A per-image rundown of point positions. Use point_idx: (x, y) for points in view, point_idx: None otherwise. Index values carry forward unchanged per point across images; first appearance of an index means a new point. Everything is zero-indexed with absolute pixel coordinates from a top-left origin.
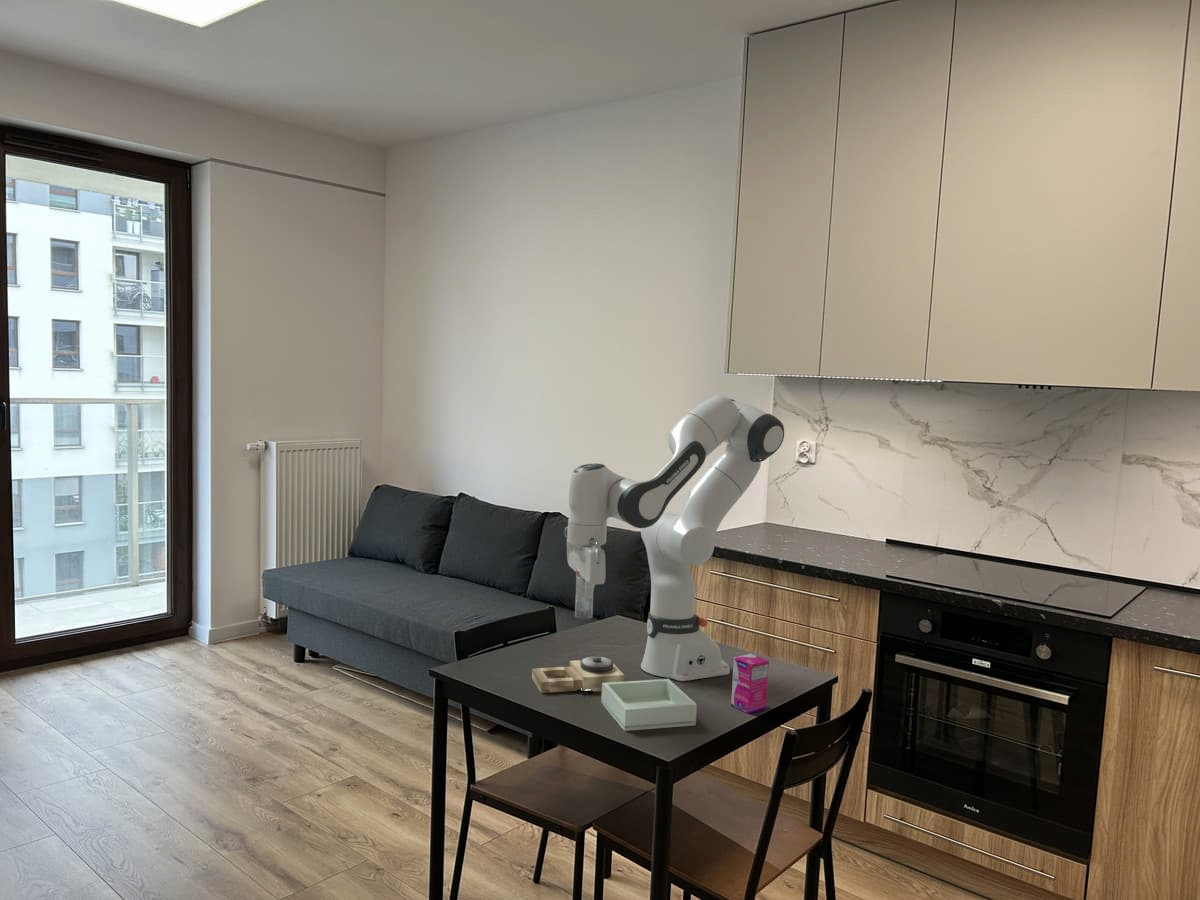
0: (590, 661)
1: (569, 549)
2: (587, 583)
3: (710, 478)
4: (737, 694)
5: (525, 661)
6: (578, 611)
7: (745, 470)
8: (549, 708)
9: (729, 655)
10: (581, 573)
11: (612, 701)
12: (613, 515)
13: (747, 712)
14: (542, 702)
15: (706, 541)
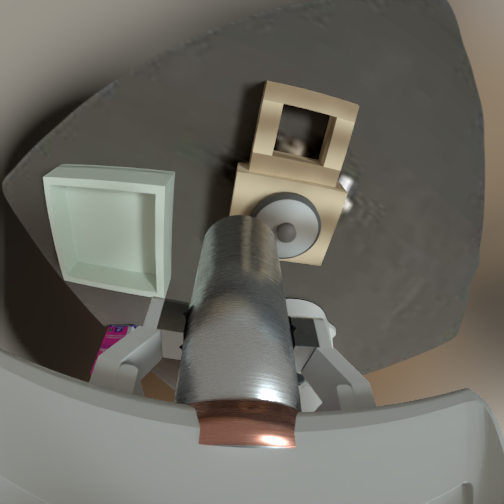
0: (289, 217)
1: (487, 477)
2: (96, 366)
3: None
4: (119, 337)
5: (432, 146)
6: (220, 234)
7: None
8: (177, 66)
9: None
10: (122, 422)
11: (105, 175)
12: None
13: (110, 325)
14: (213, 63)
15: None
